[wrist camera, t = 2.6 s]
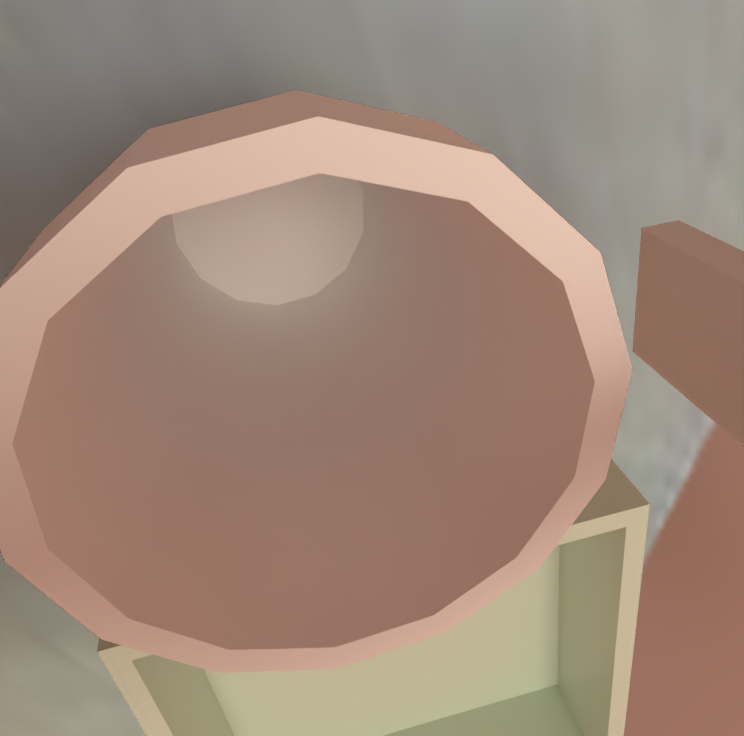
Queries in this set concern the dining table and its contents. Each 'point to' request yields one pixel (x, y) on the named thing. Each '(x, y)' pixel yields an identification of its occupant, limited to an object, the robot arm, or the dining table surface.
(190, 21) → the dining table surface
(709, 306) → the robot arm
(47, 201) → the dining table surface
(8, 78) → the dining table surface
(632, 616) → the bin
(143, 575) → the foam cup
